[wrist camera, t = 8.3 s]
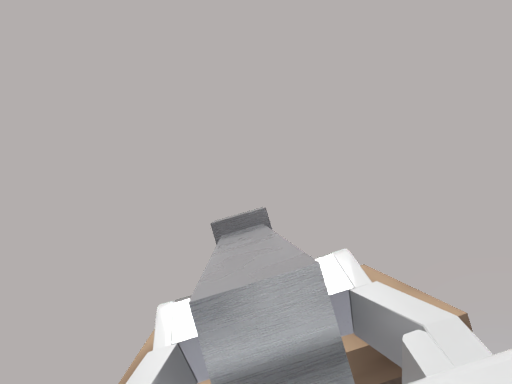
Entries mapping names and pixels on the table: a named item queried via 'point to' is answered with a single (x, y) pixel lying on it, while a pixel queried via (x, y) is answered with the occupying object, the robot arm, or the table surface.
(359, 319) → the robot arm
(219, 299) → the bar
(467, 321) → the wooden side table
